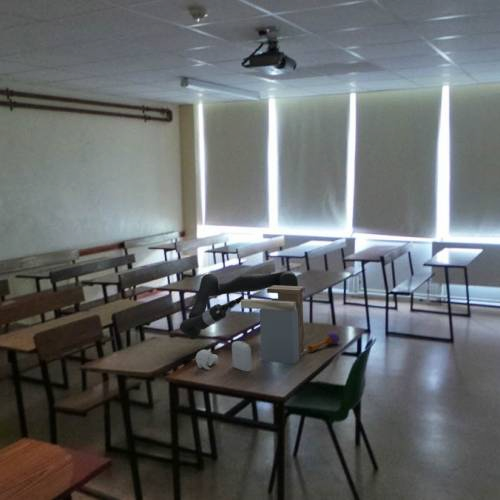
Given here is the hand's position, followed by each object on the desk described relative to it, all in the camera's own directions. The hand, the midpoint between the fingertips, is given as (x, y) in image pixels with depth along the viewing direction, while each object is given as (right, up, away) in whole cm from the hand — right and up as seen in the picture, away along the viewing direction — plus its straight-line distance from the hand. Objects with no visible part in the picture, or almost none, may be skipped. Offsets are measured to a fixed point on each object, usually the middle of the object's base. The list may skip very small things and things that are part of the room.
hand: (239, 299), depth 262 cm
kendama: (+41, -25, +12) cm, 50 cm away
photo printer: (+2, -30, -13) cm, 33 cm away
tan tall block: (+23, -26, +5) cm, 35 cm away
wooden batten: (+13, -4, -5) cm, 15 cm away
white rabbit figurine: (-14, -30, -8) cm, 34 cm away
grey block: (+19, -28, -4) cm, 34 cm away
